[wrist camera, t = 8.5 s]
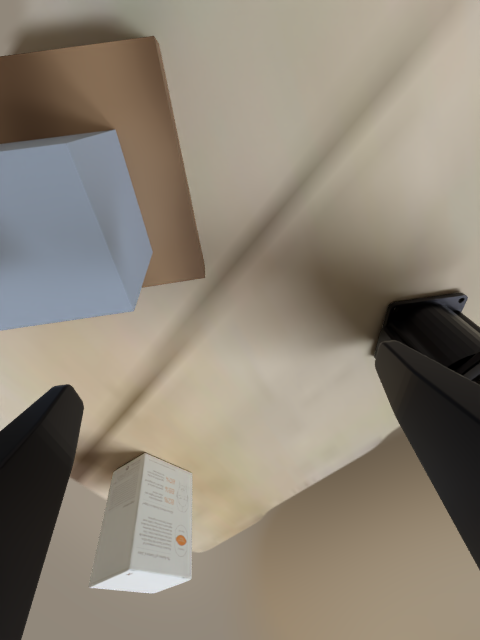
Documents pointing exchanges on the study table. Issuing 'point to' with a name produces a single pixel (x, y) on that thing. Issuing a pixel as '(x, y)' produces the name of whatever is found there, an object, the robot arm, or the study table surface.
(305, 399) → the study table surface
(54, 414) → the robot arm
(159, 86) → the walnut slab
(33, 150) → the blue cube
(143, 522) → the small box
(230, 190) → the study table surface
